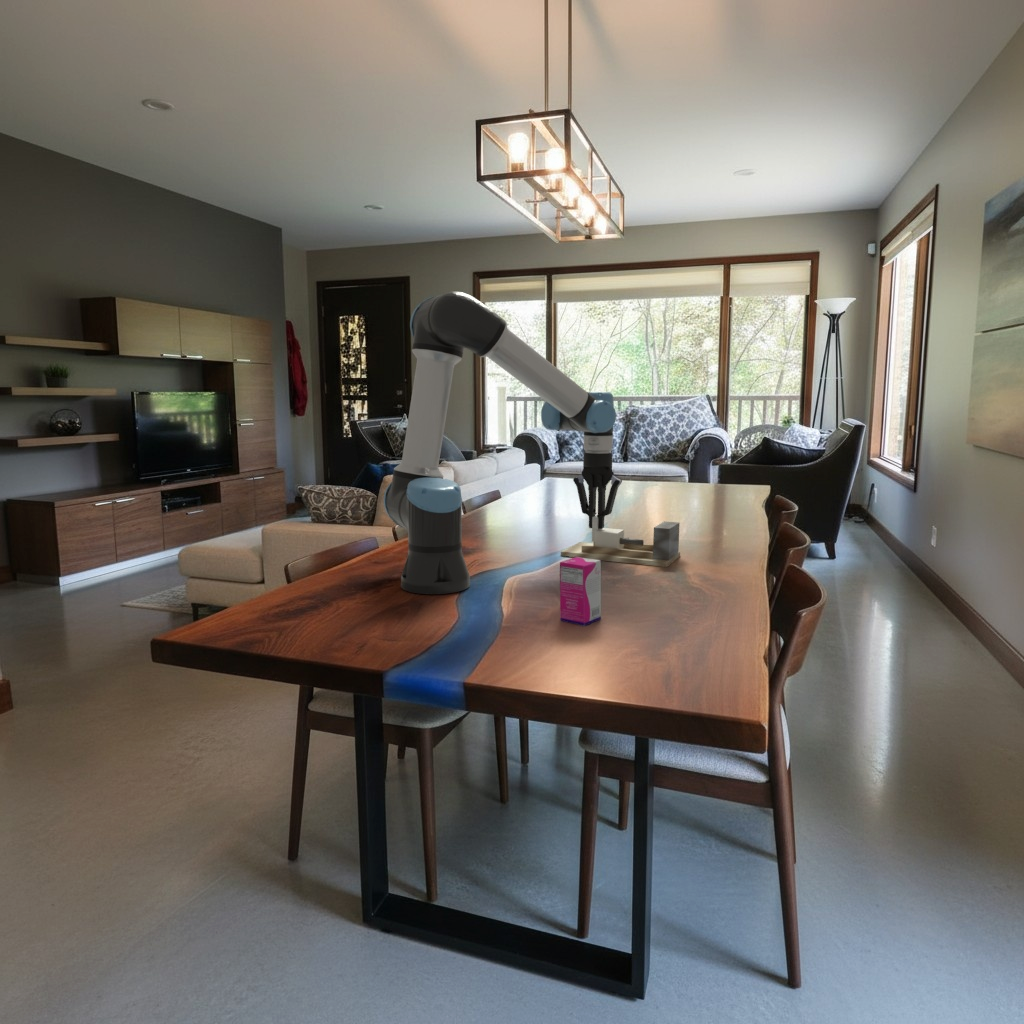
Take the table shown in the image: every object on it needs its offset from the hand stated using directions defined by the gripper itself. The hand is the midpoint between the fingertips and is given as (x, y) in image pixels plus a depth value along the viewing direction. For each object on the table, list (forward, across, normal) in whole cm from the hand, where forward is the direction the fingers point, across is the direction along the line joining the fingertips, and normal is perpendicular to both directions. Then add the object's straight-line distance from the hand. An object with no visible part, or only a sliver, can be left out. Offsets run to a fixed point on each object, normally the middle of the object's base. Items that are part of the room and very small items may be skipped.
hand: (596, 540), depth 200 cm
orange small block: (+2, +7, +6) cm, 10 cm away
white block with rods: (+2, +7, +2) cm, 7 cm away
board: (+4, +7, 0) cm, 8 cm away
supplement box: (+4, +17, -57) cm, 60 cm away
